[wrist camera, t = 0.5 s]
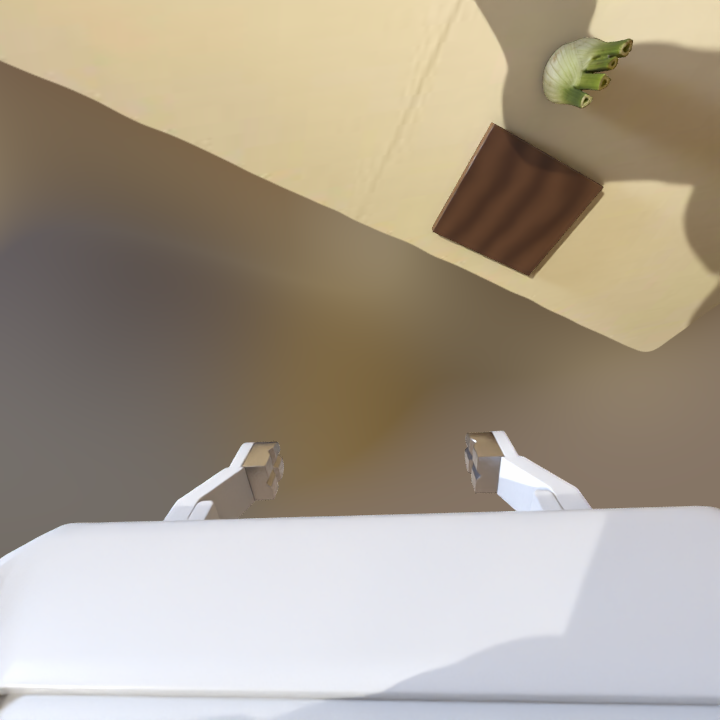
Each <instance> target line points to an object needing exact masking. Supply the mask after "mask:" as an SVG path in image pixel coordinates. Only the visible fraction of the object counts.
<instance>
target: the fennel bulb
mask: <svg viewBox="0 0 720 720" xmlns="http://www.w3.org/2000/svg"><path fill="white" fill-rule="evenodd" d="M632 44H633V40H631V39H626V40H621V41H617V42H604V41H602V40H600V39H597V38H581V39H578V40H576V41H574V42H571V43H567V44H565V45H563V46H561V47H560V48H558V49H557V50H556V51H555V52H554V53H553V55H552V56H551V57H550V59H549V61H548V62H547V65H546V67H545V69H544V73H543V79H542V82H543V89H544V93H545V95H546V97H547V98H548V100H549V101H551V102H553V103H556V104H568V105H573V106H576V107H579V108H584V107H586V106H587V105H589V104H590V103H591V101H592V99H593V97H591V96H590V95H589V94H587V93H585V92H583V91H582V90H602V89H604V88H605V87H607V86H608V84H609V82H610V81H611V79H610V78H609V77H608V76H607V75H606V74H602V73H595V72H601V71H608V70H612V69H614V68H615V67H616V66H617V63H618V58H621V57H626V56H627V55H628V53H629V52H630V51H631V49H632ZM593 73H595V74H593Z"/></svg>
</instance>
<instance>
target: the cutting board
mask: <svg viewBox="0 0 720 720" xmlns="http://www.w3.org/2000/svg"><path fill="white" fill-rule="evenodd" d="M602 188H603V186H601V185H599V184H598V183H596V182H594V181H593V180H591V179H589V178H587V177H586V176H584V175H582V174H581V173H579V172H577V171H575V170H574V169H572V168H570V167H568V166H567V165H565V164H563V163H562V162H560V161H558V160H556V159H555V158H553V157H551V156H549V155H548V154H546V153H544V152H543V151H541V150H539V149H537V148H536V147H534V146H532V145H530V144H529V143H527V142H525V141H524V140H522V139H520V138H518V137H517V136H515V135H513V134H512V133H510V132H508V131H506V130H505V129H503V128H501V127H499V126H498V125H496V124H494V123H491V124H490V126H489V128H488V130H487V132H486V133H485V135H484V137H483V139H482V140H481V142H480V144H479V146H478V147H477V149H476V151H475V153H474V155H473V156H472V158H471V160H470V162H469V163H468V165H467V167H466V169H465V170H464V172H463V174H462V176H461V178H460V179H459V181H458V183H457V185H456V186H455V188H454V190H453V192H452V193H451V195H450V197H449V199H448V200H447V202H446V204H445V206H444V208H443V209H442V211H441V213H440V215H439V216H438V218H437V220H436V222H435V223H434V225H433V227H432V230H433V232H435V233H437V234H439V235H441V236H444V237H446V238H448V239H450V240H452V241H454V242H457V243H459V244H461V245H463V246H465V247H467V248H470V249H472V250H474V251H476V252H478V253H480V254H483V255H485V256H487V257H489V258H491V259H494V260H496V261H498V262H500V263H502V264H504V265H507V266H509V267H511V268H513V269H515V270H517V271H520V272H522V273H524V274H526V275H530V274H531V272H532V271H533V270H534V269H535V268H536V266H537V265H538V264H539V263H540V262H541V260H542V259H543V258H544V257H545V256H546V255H547V253H548V252H549V251H550V250H551V249H552V247H553V246H554V245H555V244H556V243H557V242H558V240H559V239H560V238H561V237H562V236H563V234H564V233H565V232H566V231H567V230H568V229H569V227H570V226H571V225H572V224H573V223H574V221H575V220H576V219H577V218H578V217H579V216H580V214H581V213H582V212H583V211H584V210H585V208H586V207H587V206H588V205H589V204H590V203H591V201H592V200H593V199H594V198H595V197H596V195H597V194H598V193H599V192H600V191H601V190H602Z"/></svg>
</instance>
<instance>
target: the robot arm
mask: <svg viewBox="0 0 720 720" xmlns="http://www.w3.org/2000/svg"><path fill="white" fill-rule="evenodd" d="M466 443H467V446H468V447H467V448H466V449H465V462H466V466H467V470H468V472H469V473H470V474H471V481H472V484H473V487H474V489H475V492H476V493H497V494H498V495H499V496H500V497H501V498H503V499H504V500H505V501H506V502H507V503H508V504H509V505H510V506H511V507H513V508H514V509H515V510H516V511H505V512H470V513H434V514H433V513H432V514H397V515H362V516H324V517H290V518H289V517H287V518H251V519H238V518H239V517H240V516H241V515H242V514H243V513H244V512H245V511H246V510H247V509H248V508H249V507H250V506H251V505H252V504H253V503H254V501H255V500H272V499H274V498H275V496H276V493H277V490H278V483H277V482H278V481H280V480H281V479H282V475H283V469H284V464H283V458H282V457H281V456H280V455H279V452H280V446H279V443H278V442H255V443H254V442H251V443H244V444H242V446H241V447H240V449H239V451H238V453H237V454H236V456H235V458H234V460H233V462H232V463H231V465H230V467H229V468H225V469H223V470H222V471H220V472H219V473H218V474H216V475H214V476H213V477H212V478H210V479H209V480H207V481H206V482H204V483H203V484H201V485H200V486H198V487H197V488H195V489H194V490H193V491H191V492H189V493H188V494H186V495H185V496H183V497H182V498H181V499H179V500H178V501H177V502H176V503H175V505H174V506H173V508H172V509H171V510H170V512H169V513H168V515H167V516H166V518H165V519H164V521H141V522H106V523H72V524H65V525H63V526H60V527H58V528H56V529H54V530H52V531H50V532H48V533H46V534H43V535H42V536H40V537H38V538H36V539H34V540H32V541H30V542H29V543H27V544H25V545H23V546H21V547H20V548H18V549H16V550H14V551H12V552H10V553H9V554H7V555H5V556H4V557H2V558H1V559H0V720H720V509H718V508H713V507H708V506H681V507H648V508H614V509H592V508H591V507H590V505H589V504H588V502H587V501H586V500H585V498H584V497H583V495H582V494H581V493H580V491H579V490H578V489H577V488H576V487H575V486H573V485H571V484H569V483H568V482H566V481H564V480H562V479H561V478H559V477H557V476H556V475H554V474H552V473H551V472H549V471H547V470H545V469H544V468H542V467H540V466H539V465H537V464H535V463H533V462H532V461H530V460H528V459H527V458H525V457H523V456H519V455H518V454H517V452H516V450H515V448H514V447H513V445H512V444H511V442H510V440H509V438H508V437H507V435H506V433H505V432H504V431H493V432H480V433H467V434H466Z"/></svg>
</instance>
